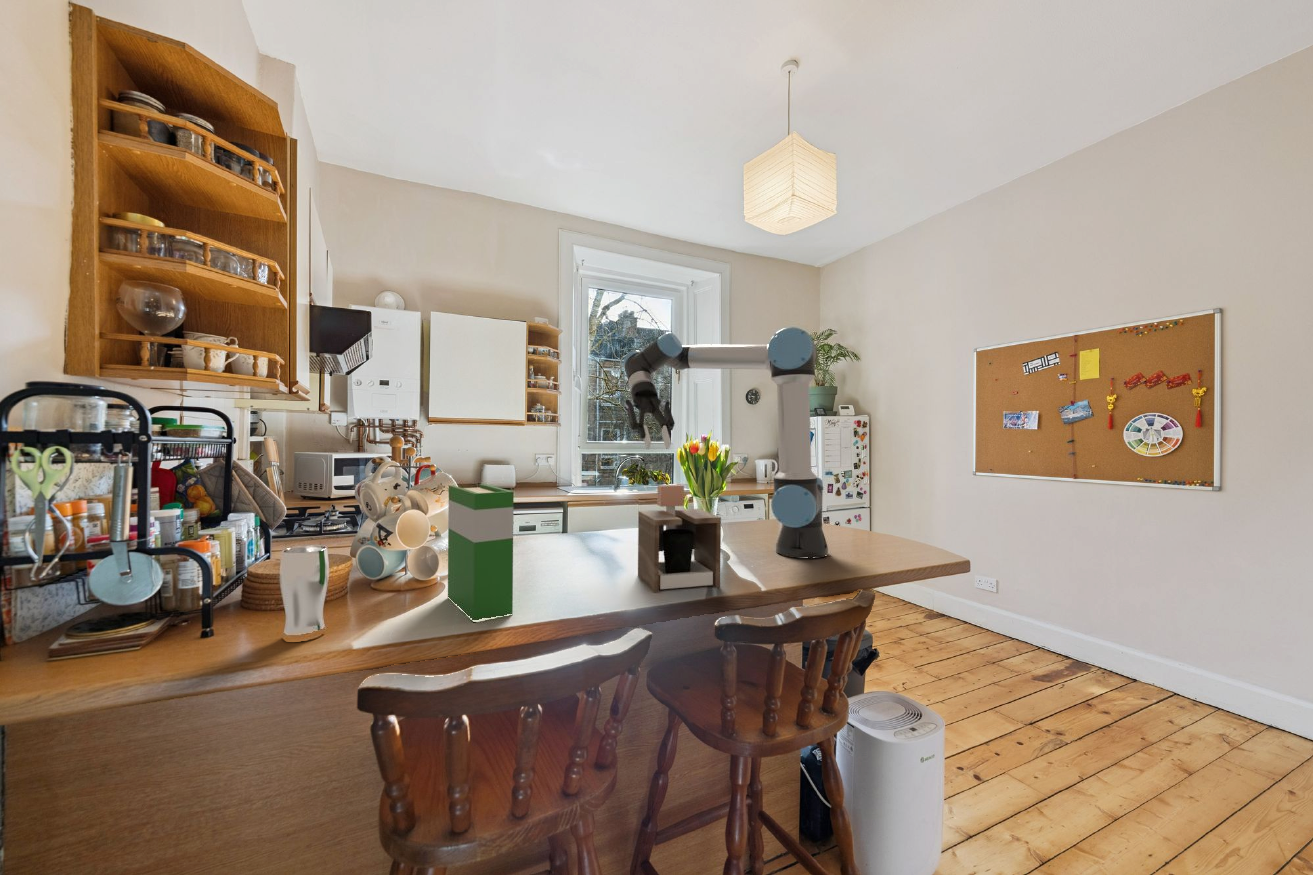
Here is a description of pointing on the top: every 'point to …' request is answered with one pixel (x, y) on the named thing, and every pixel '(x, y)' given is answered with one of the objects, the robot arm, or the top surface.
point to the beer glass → (304, 587)
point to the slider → (698, 572)
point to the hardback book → (481, 550)
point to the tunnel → (690, 519)
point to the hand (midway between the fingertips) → (658, 445)
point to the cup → (677, 550)
